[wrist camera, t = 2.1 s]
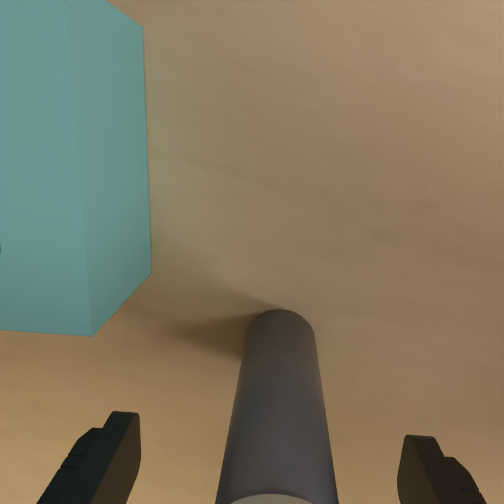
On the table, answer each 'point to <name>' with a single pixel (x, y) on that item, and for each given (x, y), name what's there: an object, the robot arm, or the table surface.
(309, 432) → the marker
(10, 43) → the socket block
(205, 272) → the table surface
